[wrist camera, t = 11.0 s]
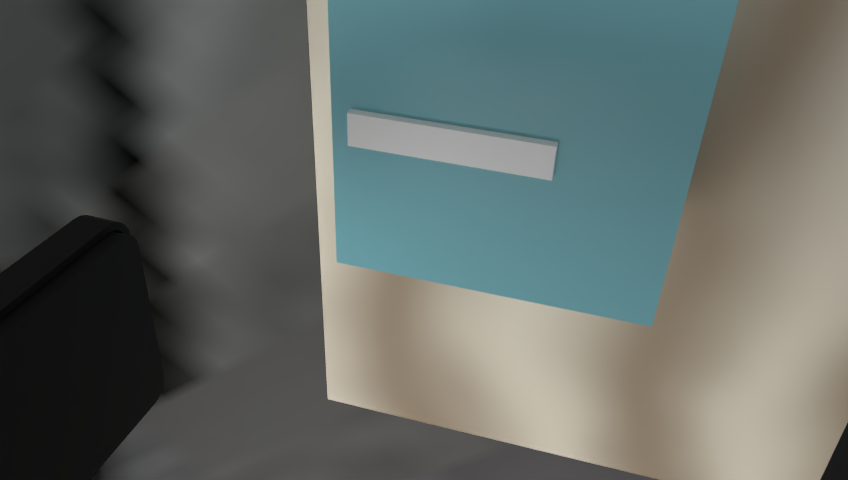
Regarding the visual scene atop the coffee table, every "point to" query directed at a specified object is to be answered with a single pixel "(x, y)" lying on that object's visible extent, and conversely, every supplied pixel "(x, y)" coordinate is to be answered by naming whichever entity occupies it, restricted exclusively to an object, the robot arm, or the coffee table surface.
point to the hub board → (678, 304)
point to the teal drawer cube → (521, 142)
